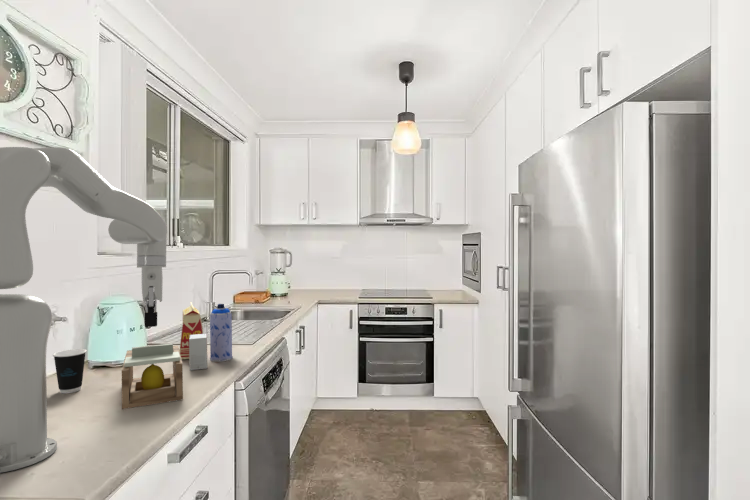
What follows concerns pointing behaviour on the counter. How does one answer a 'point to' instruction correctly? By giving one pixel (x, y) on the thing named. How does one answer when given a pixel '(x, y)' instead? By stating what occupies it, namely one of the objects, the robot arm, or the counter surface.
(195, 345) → the small box
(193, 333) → the milk carton
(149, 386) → the lemon
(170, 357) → the lid
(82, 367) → the dixie cup
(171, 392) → the walnut box
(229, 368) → the counter surface
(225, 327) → the aerosol can
